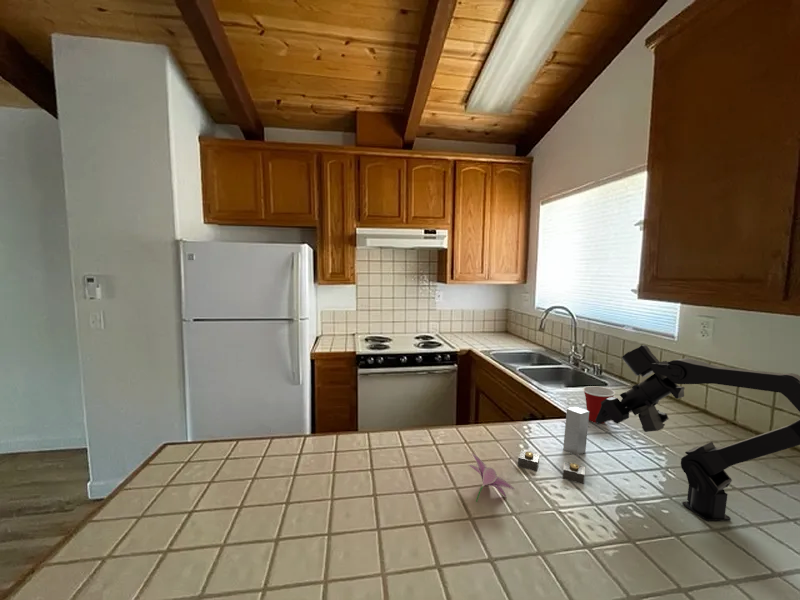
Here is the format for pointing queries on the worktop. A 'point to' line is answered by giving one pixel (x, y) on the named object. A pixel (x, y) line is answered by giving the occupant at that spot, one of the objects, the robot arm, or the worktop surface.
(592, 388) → the plastic cup
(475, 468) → the lily
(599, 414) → the robot arm
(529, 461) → the chain ends
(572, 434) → the tall metal block
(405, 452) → the worktop surface
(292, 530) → the worktop surface
